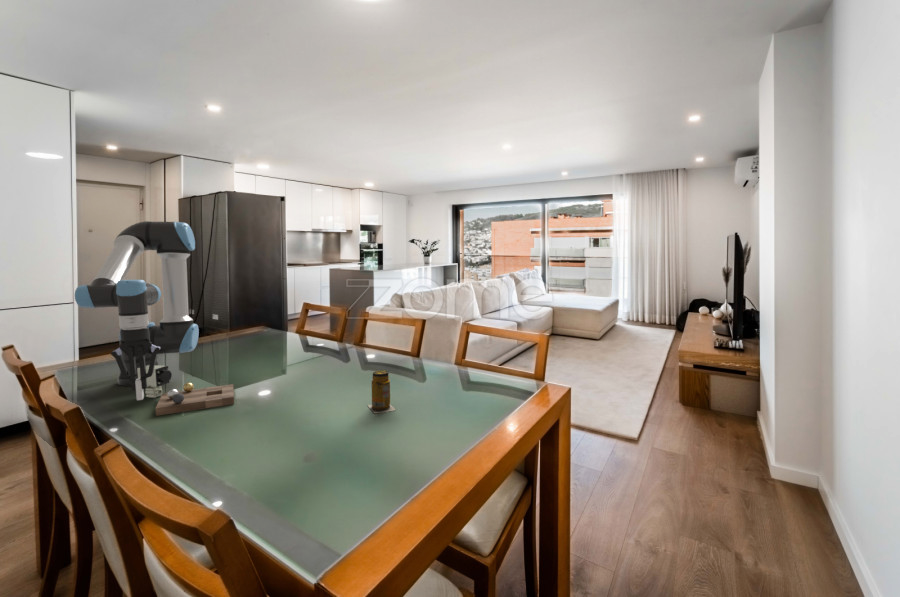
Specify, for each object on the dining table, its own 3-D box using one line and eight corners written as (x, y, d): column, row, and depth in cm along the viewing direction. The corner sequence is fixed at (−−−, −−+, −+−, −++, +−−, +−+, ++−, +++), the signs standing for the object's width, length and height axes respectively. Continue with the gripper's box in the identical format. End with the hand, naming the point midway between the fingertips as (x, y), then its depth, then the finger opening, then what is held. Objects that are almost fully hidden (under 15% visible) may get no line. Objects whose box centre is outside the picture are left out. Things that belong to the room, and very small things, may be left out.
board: (162, 400, 144) (162, 393, 144) (233, 390, 155) (233, 384, 154) (155, 415, 130) (155, 408, 130) (234, 403, 141) (233, 396, 140)
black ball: (173, 402, 135) (172, 392, 135) (184, 400, 137) (184, 391, 136) (172, 405, 132) (171, 395, 132) (183, 403, 134) (183, 394, 133)
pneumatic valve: (162, 399, 145) (159, 366, 144) (134, 397, 147) (132, 364, 146) (175, 394, 150) (173, 362, 149) (149, 392, 153) (146, 361, 151)
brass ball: (183, 391, 147) (183, 382, 146) (194, 389, 148) (193, 381, 148) (183, 393, 144) (182, 384, 143) (193, 392, 145) (193, 383, 145)
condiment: (388, 402, 142) (387, 368, 141) (396, 410, 134) (395, 374, 133) (367, 405, 139) (366, 371, 137) (374, 414, 131) (373, 377, 130)
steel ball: (168, 397, 139) (167, 388, 139) (179, 396, 141) (178, 387, 141) (167, 400, 137) (166, 391, 136) (178, 399, 138) (177, 389, 138)
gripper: (105, 331, 126) (112, 405, 128) (157, 327, 132) (162, 399, 134) (111, 327, 132) (117, 398, 135) (160, 324, 138) (165, 392, 141)
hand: (140, 398), depth 134 cm, fingers closed
